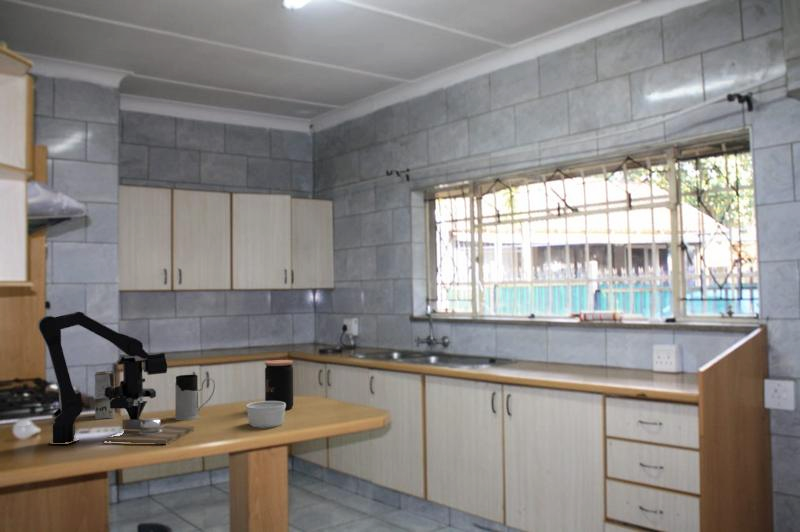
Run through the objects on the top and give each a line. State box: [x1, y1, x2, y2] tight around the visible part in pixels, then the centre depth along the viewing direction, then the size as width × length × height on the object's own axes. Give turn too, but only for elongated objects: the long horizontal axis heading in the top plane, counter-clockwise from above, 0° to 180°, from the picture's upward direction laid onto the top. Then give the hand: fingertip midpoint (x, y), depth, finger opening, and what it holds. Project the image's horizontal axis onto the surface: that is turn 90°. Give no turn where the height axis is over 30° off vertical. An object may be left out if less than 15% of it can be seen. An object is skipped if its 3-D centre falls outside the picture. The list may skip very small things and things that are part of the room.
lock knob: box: [121, 417, 162, 433], centre depth 219 cm, size 12×6×3 cm, turn 76°
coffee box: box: [94, 370, 116, 420], centre depth 252 cm, size 9×6×16 cm
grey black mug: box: [173, 374, 216, 421], centre depth 249 cm, size 9×14×15 cm, turn 113°
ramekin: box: [245, 400, 286, 429], centre depth 235 cm, size 13×13×7 cm
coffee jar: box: [264, 359, 294, 411], centre depth 263 cm, size 11×11×18 cm
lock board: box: [103, 424, 195, 444], centre depth 218 cm, size 20×20×2 cm
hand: (134, 424), depth 222 cm, fingers closed
